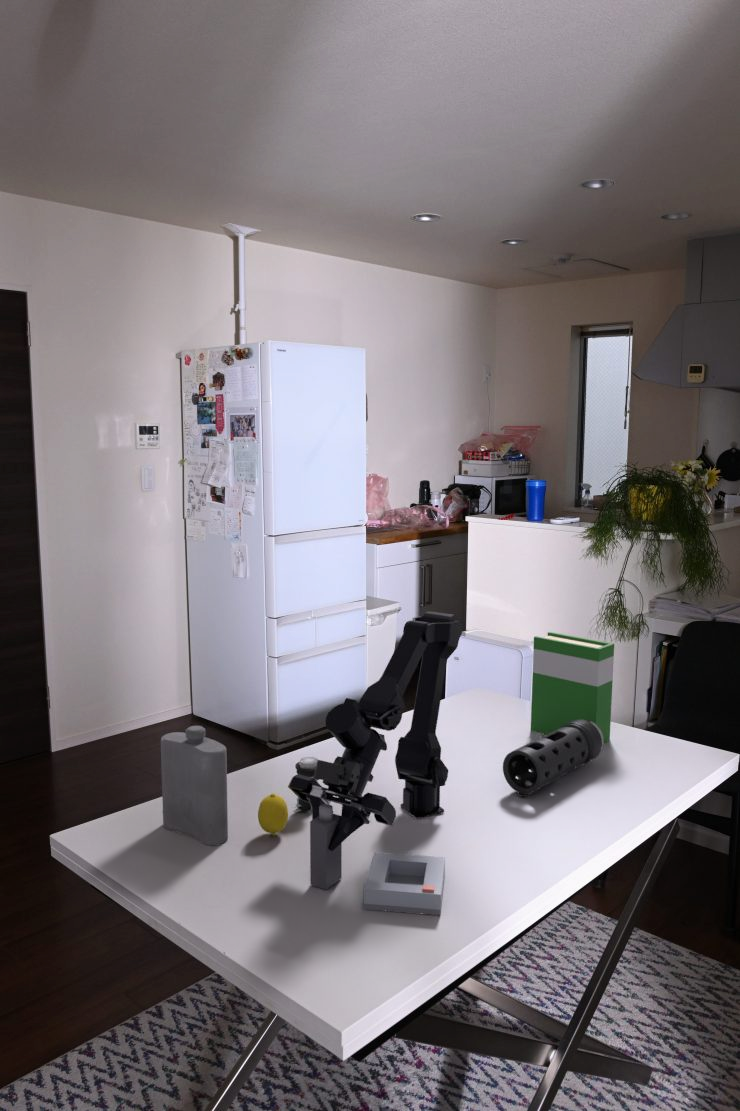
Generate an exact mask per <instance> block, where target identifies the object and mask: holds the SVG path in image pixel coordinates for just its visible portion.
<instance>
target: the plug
mask: <svg viewBox="0 0 740 1111" xmlns="http://www.w3.org/2000/svg"><path fill="white" fill-rule="evenodd" d="M333 809H334V808H333V805H332V804H324V805H321V806H319V816H318V817H316V818H315V819H313V820H312V819H311V820H310V821H309V829H310V830H309V831H310V832H309V833H310V834H309V837H310V838H309V842H310V844H309V847H310V849H309V850H310V853H309V854H310V858H309V859H310V863H309V864H310V865H309V866H310V867H309V869H310V870H309V871H310V874H309V875H310V879H309V881H310V883H309V884H310V885H311V886H314V887H317V888H320V889H323V890H325V891H327V890H328V889H330V888H331V887H332V886H334V885H336V884H337V882H339V881H340V880H342V876H343V875H342V862H343V861H342V853H343V852H342V847H343V846H342V844H343V842H342V843H341V844H340V845H339V846H338V847H337V848H335V849H334V850H333V851H330V850H329V849H328V847H329V844H330V841H331V838H332V836H333V834H334V831H335V829H336V827H337V825H338V822H339V820H340V818H341V814H340V815H339V814H336V813H334V811H333Z"/></svg>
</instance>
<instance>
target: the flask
mask: <svg viewBox="0 0 740 1111" xmlns="http://www.w3.org/2000/svg"><path fill="white" fill-rule="evenodd" d="M160 755H161V757H160V759H161V760H160V761H161V763H160V765H161V791H162V795H161V796H162V797H161V798H162V822H163V823H162V824H163V828H165V829H166V830H169V831H172V830H173V831H174V832H178V833H180V832H181V834H184V835H186V834H187V836H189V835H190V836H189V837H191V836H192V838H194V839H196V840H197V841H199V842H201V843H202V844H204V845H206V846H213V847H214V846H219V845H222V844H224V843H225V842H226V841H228V838H229V822H228V821H229V820H228V817H229V816H228V814H229V813H228V810H229V809H228V765H227V762H228V760H227V747H226V746H225V745H224V744H223V743H221V742H219V741H217V740H215V739H213V738H212V739H211V738H209V737H206V728H204V726H202V725H192V726H191V725H190V726H189V727H187V728H186V729H185V732H183V731H182V732H181V731H180V732H179V731H178V732H177V731H176V732H170V733H166V734H164V735H162V736H161V738H160Z"/></svg>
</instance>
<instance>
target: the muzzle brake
mask: <svg viewBox="0 0 740 1111" xmlns="http://www.w3.org/2000/svg"><path fill="white" fill-rule="evenodd" d="M603 746H604V743H603V734H602V732H601V730H600V729H599V727H598V726H597V725H596V724H595V723H593V722H592V721H589V720H583V719H576V720H572V721H570V722H568V723H566V724H564V725H563V726H562V727H561V728H559V729H557V730H555V731H553V732H551V733H549V734H547V735H545V734H544V735H542V736H541V737H539V738H537V739H535V740H532V741H531V742H528V743H526V744H524V745H522V746H520V747H518V748H516V749H514V750H513V751H510V752H509V753H508V754H506V756H505V757H504V759H503V762H502V773H503V775H504V776H503V777H504V779H505V781H506V783H507V784H508V785H509V786H510V788H511V789H513V790H514V791H515V792H517V793H518V795H519V796H520V797H524V798H525V797H527V796H528V795H530V794H533V793H535V791H537V790H539V789H541V788H543V787H545V786H547V785H549V784H550V783H552V782H553V781H555V780H557V779H559V778H561V777H562V776H564V775H565V774H569V773H571V772H572V771H574V770H576V769H577V768H578V767H580V766H583V765H586V764H588V763H590V762H591V761H593V760H594V759H597V758H598V757H599V755H600V754H601V751H602V749H603Z"/></svg>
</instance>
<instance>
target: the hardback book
mask: <svg viewBox="0 0 740 1111" xmlns="http://www.w3.org/2000/svg"><path fill="white" fill-rule="evenodd" d="M614 656H615V643H614V642H607V641H602V640H596V639H592V638H591V639H590V638H585V637H579V636H574V635H570V634H564V633H558V632H552V631H548V632H547V635H546V636H544V637H541V636H538V635H535V636H533V652H532V680H531V681H532V683H531V712H530V731H532V732H534V733H538V734H542V735H544V736H545V735H547V734H549V733H551V732H553V731H555V730H557V729H559V728H561V727H562V726H563V725H564V724H566V723H568V722H570V721H572V720H576V719H583V720H589V721H592V722H593V723H595V724H596V725H597V726H598V727H599V729H600V730H601V732H602V734H603V744H606V743H607V742H609V741H610V740H611V738H610V737H611V719H612V702H613V701H612V700H613V697H612V696H613V681H614V680H613V678H614V661H615V660H614V658H615V657H614Z"/></svg>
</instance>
